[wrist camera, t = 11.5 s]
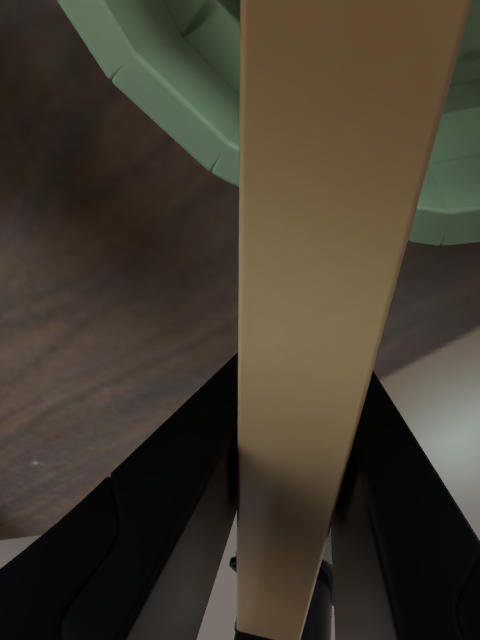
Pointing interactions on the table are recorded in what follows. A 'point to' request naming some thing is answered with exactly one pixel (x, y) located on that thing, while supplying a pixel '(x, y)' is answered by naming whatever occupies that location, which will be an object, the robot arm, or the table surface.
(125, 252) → the table surface
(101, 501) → the robot arm
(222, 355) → the table surface
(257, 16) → the wooden disc paddle
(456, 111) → the bowl
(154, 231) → the table surface
